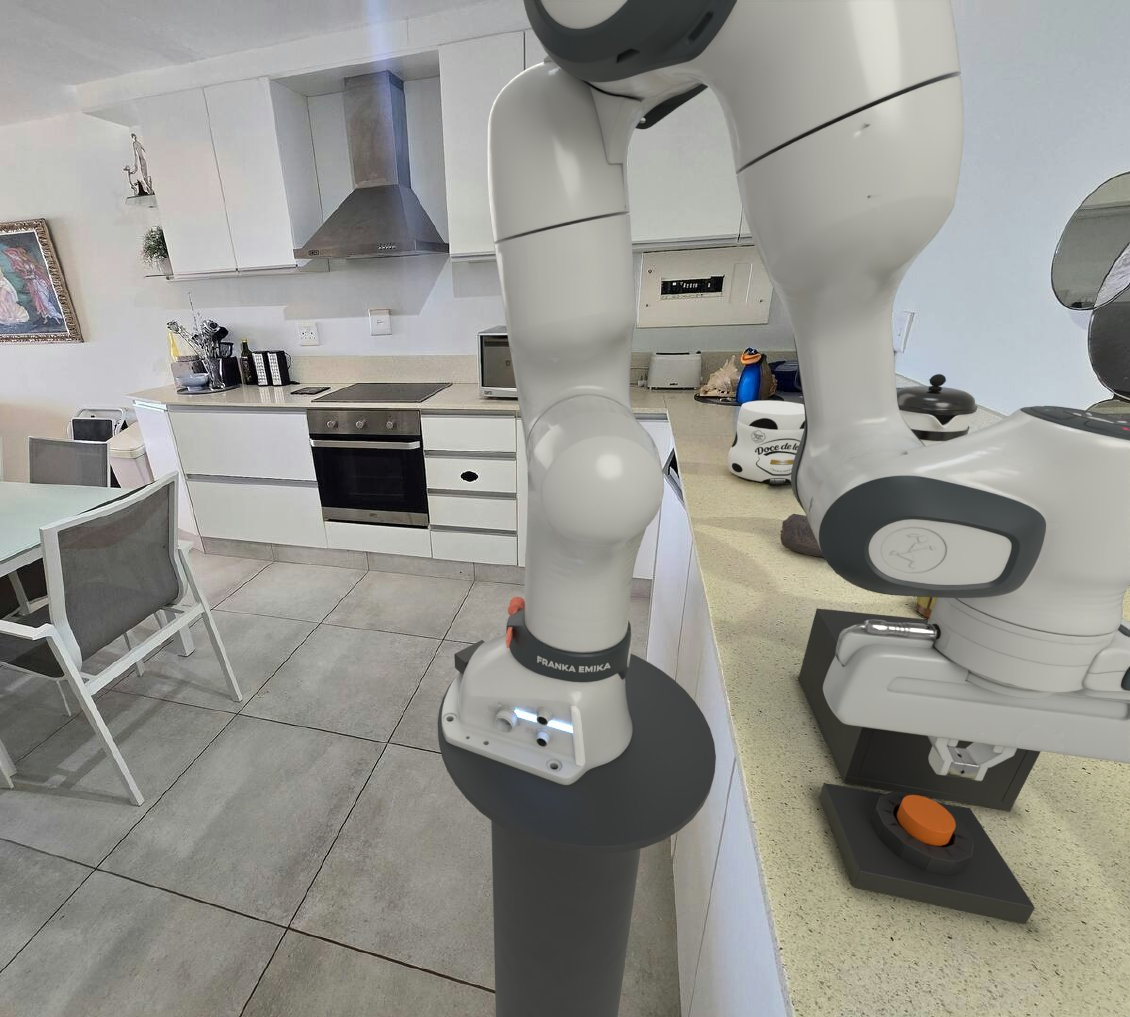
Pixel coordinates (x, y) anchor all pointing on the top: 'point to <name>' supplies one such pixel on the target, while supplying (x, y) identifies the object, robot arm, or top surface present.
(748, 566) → the top surface
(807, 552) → the perforated stone tool
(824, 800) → the control block
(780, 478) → the doce de leite jar
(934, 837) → the button
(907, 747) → the charcoal drawer unit
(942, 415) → the coffee press
